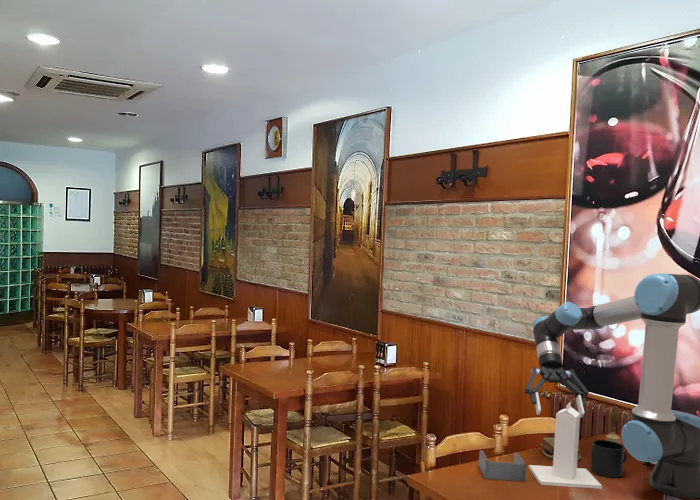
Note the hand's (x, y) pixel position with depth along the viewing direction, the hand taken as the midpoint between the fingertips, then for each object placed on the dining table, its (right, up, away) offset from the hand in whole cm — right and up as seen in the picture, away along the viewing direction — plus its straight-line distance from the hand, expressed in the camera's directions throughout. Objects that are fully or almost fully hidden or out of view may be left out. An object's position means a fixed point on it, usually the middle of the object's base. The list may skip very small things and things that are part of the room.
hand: (560, 414), depth 200 cm
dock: (-20, -17, -4) cm, 26 cm away
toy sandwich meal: (+5, -19, +16) cm, 25 cm away
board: (-1, -18, -5) cm, 19 cm away
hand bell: (+26, -20, +24) cm, 41 cm away
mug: (+16, -19, +2) cm, 25 cm away
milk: (-1, -18, -5) cm, 18 cm away
